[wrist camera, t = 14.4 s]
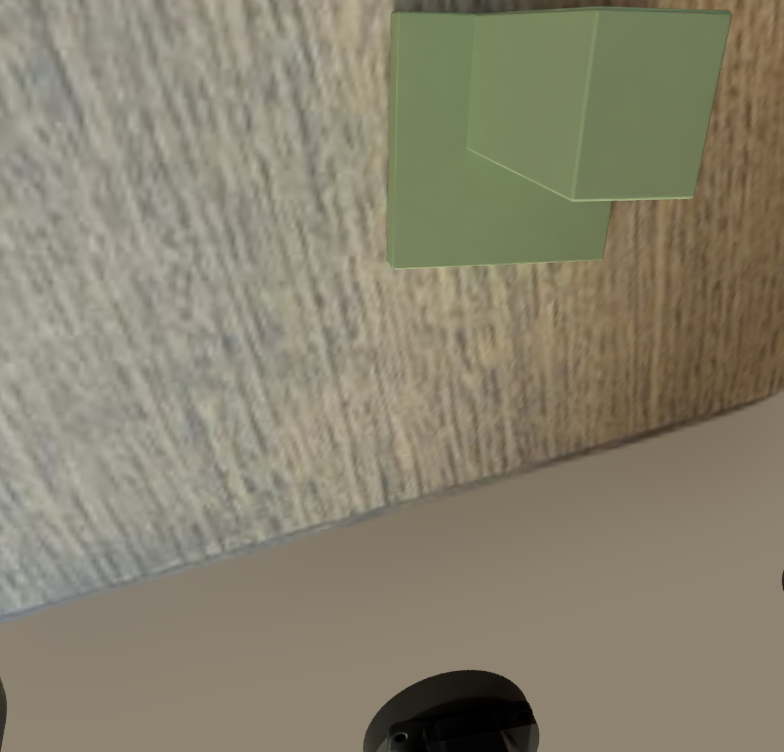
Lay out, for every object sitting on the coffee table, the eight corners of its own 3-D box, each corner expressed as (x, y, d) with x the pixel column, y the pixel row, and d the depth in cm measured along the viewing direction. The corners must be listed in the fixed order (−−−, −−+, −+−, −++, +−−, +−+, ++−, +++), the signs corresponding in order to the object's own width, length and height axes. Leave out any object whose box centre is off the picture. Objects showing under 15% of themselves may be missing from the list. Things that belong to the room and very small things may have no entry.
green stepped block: (590, 252, 20) (743, 346, 14) (386, 261, 19) (460, 367, 13) (625, 18, 18) (830, 13, 12) (390, 12, 16) (485, 1, 10)
